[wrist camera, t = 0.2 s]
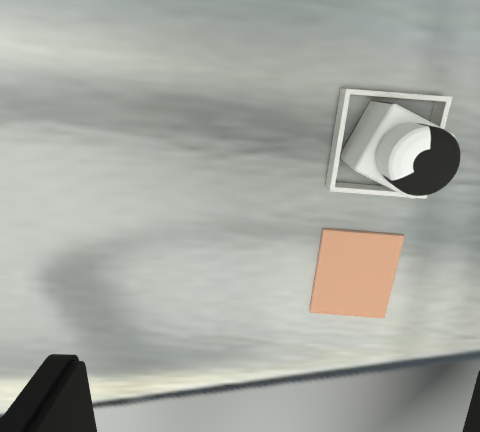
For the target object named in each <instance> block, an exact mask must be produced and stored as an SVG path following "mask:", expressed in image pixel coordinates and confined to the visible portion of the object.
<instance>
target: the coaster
mask: <svg viewBox="0 0 480 432" xmlns="http://www.w3.org/2000/svg"><path fill="white" fill-rule="evenodd" d="M403 240H404V235H403V234H391V233H378V232H365V231H352V230H339V229H326V228H323V229H322V235H321V242H320V248H319V254H318V260H317V266H316V273H315V279H314V285H313V291H312V297H311V304H310V313H322V314H335V315H348V316H361V317H374V318H384V317H385V313H386V309H387V305H388V301H389V297H390V293H391V289H392V285H393V281H394V277H395V273H396V269H397V264H398V260H399V256H400V252H401V248H402V244H403Z"/></svg>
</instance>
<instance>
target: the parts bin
mask: <svg viewBox="0 0 480 432" xmlns="http://www.w3.org/2000/svg"><path fill="white" fill-rule="evenodd" d="M350 94H354V95H367V96H380V97H393V98H406V99H419V100H432V101H435V102H434V107H433V111H432V115H431V119H430V122H432V123H433V124H435V125H437V126H439V127H441V128H443V129H444V128H445V124H446V120H447V116H448V112H449V109H450V105H451V101H452V97H446V96H434V95H421V94H408V93H395V92H382V91H369V90H356V89H342V88H341V89H340V95H339V102H338V108H337V115H336V121H335V127H334V134H333V140H332V146H331V153H330V159H329V165H328V172H327V178H326V185H325V186H326V187H327V188H328V190H329V191H335V192H348V193H360V194H373V195H386V196H399V197H406V196H404V195H402V194H400V193H398V192H396V191H394V190H392V189H390V188H388V187H386V186H380V185H367V184H354V183H341V182H336V176H337V170H338V164H339V158H340V152H341V146H342V140H343V134H344V128H345V122H346V116H347V110H348V104H349V98H350ZM415 198H425V199H426V198H427V195H424V196H416V197H415Z"/></svg>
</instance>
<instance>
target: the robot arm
mask: <svg viewBox="0 0 480 432" xmlns="http://www.w3.org/2000/svg"><path fill="white" fill-rule="evenodd" d="M0 432H97V429H96V423H95V417H94V412H93V406H92V400H91V394H90V389H89V383H88V377H87V371H86V366H85V363H84V362H83V361H79V359H78V357H77V356H76V355H62V354H52V355H49V356H48V357H47V358H46V359H45V361H44V362H43V363H42V365H41V366H40V368H39V369H38V370H37V372H36V373H35V374H34V376H33V377H32V378H31V380H30V381H29V382H28V384H27V385H26V386H25V388H24V389H23V390H22V392H21V393H20V394H19V396H18V397H17V398H16V400H15V401H14V402H13V404H12V405H11V406H10V408H9V409H8V410H7V412H6V413H5V414H4V416H2V417H1V418H0ZM463 432H480V371H479V373H478V377H477V380H476V384H475V388H474V391H473V395H472V399H471V402H470V406H469V410H468V414H467V417H466V421H465V425H464V428H463Z"/></svg>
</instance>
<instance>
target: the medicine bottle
mask: <svg viewBox="0 0 480 432" xmlns="http://www.w3.org/2000/svg"><path fill="white" fill-rule="evenodd" d="M340 159H341V160H342V161H344V162H345V163H346V164H347V165H349V166H350V167H351V168H352V169H353V170H355V171H356V172H358V173H360V174H362V175H364V176H366V177H368V178H370V179H372V180H374V181H376V182H378V183H380V184H382V185H384V186H386V187H388V188H390V189H392V190H394V191H396V192H398V193H400V194H402V195H404V196H406V197H408V198H411V199H414V198H415V197H416V196H424V195H429V194H432V193H434V192H437V191H439V190H440V189H442V188H443V187H444V186H446V185H447V184H448V183H449V182H450V181H451V179H452V178H453V177H454V175H455V174H456V172H457V170H458V167H459V163H460V149H459V145H458V143H457V141H456V139H455V135H454V134H452V133H450V132H449V131H447V130H445V129H443V128H441V127H439V126H437V125H435V124H433V123H432V122H430V121H428V120H426V119H424V118H422V117H420V116H418V115H416V114H414V113H413V112H411V111H409V110H407V109H405V108H403V107H401V106H399V105H397V104H394V103H387V102H379V101H371V102H370V103H369V105H368V106H367V108H366V110H365V112H364V113H363V115H362V117H361V119H360V120H359V122H358V124H357V126H356V127H355V129H354V131H353V133H352V134H351V136H350V138H349V140H348V141H347V143H346V145H345V147H344V148H343V150H342V152H341V153H340Z"/></svg>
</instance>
